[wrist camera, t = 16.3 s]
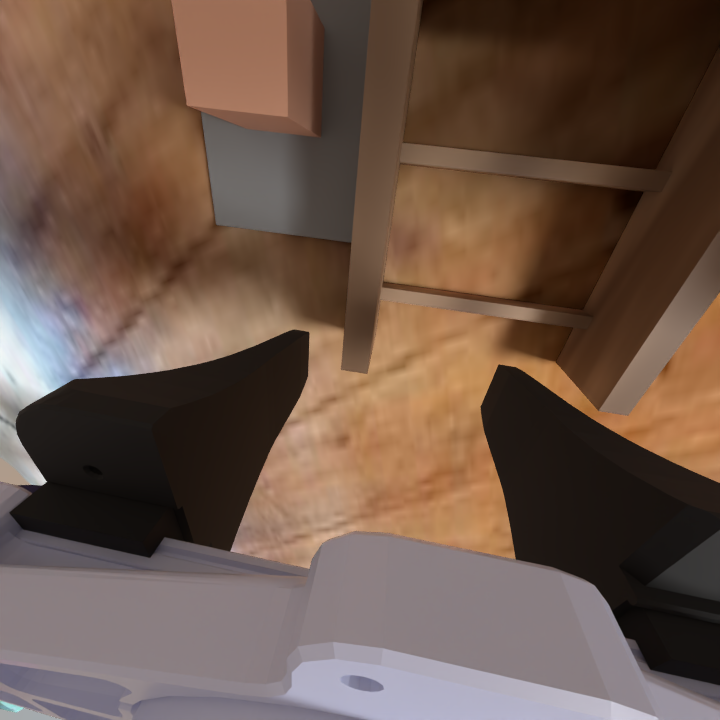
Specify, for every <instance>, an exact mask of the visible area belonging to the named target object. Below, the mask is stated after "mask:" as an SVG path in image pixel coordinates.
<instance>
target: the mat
mask: <svg viewBox="0 0 720 720" xmlns="http://www.w3.org/2000/svg"><path fill="white" fill-rule="evenodd" d="M311 2H312V4H313V6H314V8H315V10H316V12H317V14H318V16H319V18H320V20H321V22H322V24H323V26H324V58H323V89H322V120H321V138H320V137H311V136H303V135H294V134H285V133H277V132H268V131H260V130H251V129H246V128H243V127H241V126H238V125H235V124H233V123H230V122H228V121H225V120H223V119H220V118H217V117H215V116H212V115H210V114H207V113H204V112H202V111H201V116H202V124H203V131H204V138H205V146H206V153H207V161H208V168H209V175H210V183H211V190H212V198H213V205H214V212H215V220H216V225H221V226H229V227H236V228H244V229H252V230H259V231H267V232H274V233H282V234H290V235H297V236H305V237H312V238H320V239H327V240H335V241H343V242H350V243H352V231H353V219H354V206H355V194H356V182H357V170H358V158H359V146H360V133H361V121H362V109H363V97H364V85H365V72H366V60H367V48H368V36H369V24H370V12H371V0H311Z"/></svg>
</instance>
